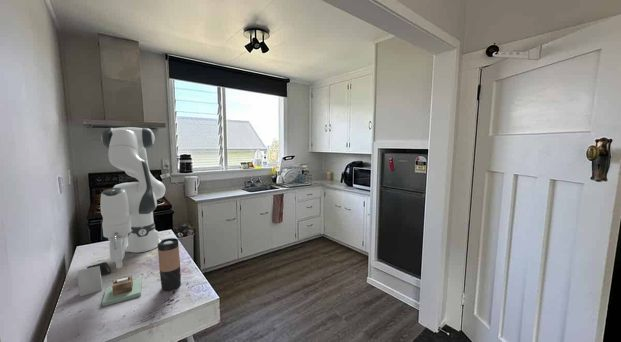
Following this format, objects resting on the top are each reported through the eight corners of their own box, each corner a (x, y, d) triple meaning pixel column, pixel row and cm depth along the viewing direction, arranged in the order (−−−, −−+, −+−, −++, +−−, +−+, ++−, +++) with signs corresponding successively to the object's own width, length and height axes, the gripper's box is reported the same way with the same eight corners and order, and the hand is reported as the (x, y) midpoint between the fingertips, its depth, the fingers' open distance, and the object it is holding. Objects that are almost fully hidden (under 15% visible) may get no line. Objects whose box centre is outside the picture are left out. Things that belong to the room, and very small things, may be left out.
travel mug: (184, 286, 106) (180, 241, 104) (163, 294, 101) (160, 246, 99) (178, 279, 112) (175, 236, 110) (158, 286, 107) (155, 241, 104)
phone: (106, 261, 128) (111, 271, 117) (106, 263, 128) (111, 274, 118) (86, 267, 122) (89, 278, 112) (86, 269, 122) (89, 280, 112)
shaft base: (107, 290, 104) (105, 277, 103) (141, 281, 110) (140, 269, 109) (102, 306, 94) (100, 291, 93) (140, 295, 100) (139, 281, 99)
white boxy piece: (101, 290, 104) (99, 267, 103) (80, 296, 100) (77, 273, 99) (102, 286, 107) (99, 264, 106) (81, 292, 103) (78, 269, 102)
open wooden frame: (132, 283, 106) (131, 273, 105) (131, 290, 101) (130, 280, 100) (115, 288, 103) (114, 278, 102) (113, 295, 98) (112, 285, 97)
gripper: (124, 236, 92) (128, 271, 94) (129, 221, 109) (132, 251, 111) (102, 239, 88) (107, 276, 90) (110, 223, 106) (114, 254, 107)
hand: (120, 262), depth 101 cm, fingers open, 8 cm apart
